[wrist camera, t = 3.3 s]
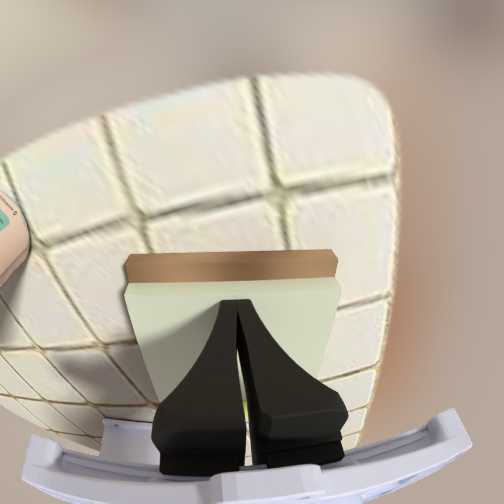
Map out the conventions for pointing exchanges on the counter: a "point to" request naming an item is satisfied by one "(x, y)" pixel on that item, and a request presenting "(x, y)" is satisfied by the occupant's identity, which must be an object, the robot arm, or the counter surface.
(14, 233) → the beer can
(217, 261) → the walnut base
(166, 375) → the plate
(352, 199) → the counter surface
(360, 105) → the counter surface
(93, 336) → the counter surface
